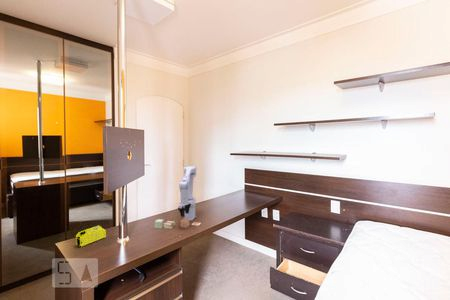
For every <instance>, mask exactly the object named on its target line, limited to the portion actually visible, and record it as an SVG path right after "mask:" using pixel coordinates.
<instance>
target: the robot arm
mask: <svg viewBox="0 0 450 300" xmlns="http://www.w3.org/2000/svg"><path fill="white" fill-rule="evenodd" d="M183 173H184V176H183V177H182V179H181V181H180V182H179V185H178V186H179V191H180V202H179V205H178V207H177V210H178V212H179V214H180V217H181V218H183V219H189V221H193V220H194V219H195V218H197V215H196V198H195V197H194V196H193V188H194V178H195V177H196V175H197V166H196V165H193V166H191V165H190V166H189V165H188V166H184V167H183Z"/></svg>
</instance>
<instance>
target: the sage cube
mask: <svg viewBox="0 0 450 300" xmlns="http://www.w3.org/2000/svg"><path fill="white" fill-rule="evenodd" d="M164 221H165V220H164V219H162V218H161V219H160V218H159V219H158V218H157V219H156V220H155V221H154V229H162V228H164V223H165V222H164Z"/></svg>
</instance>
